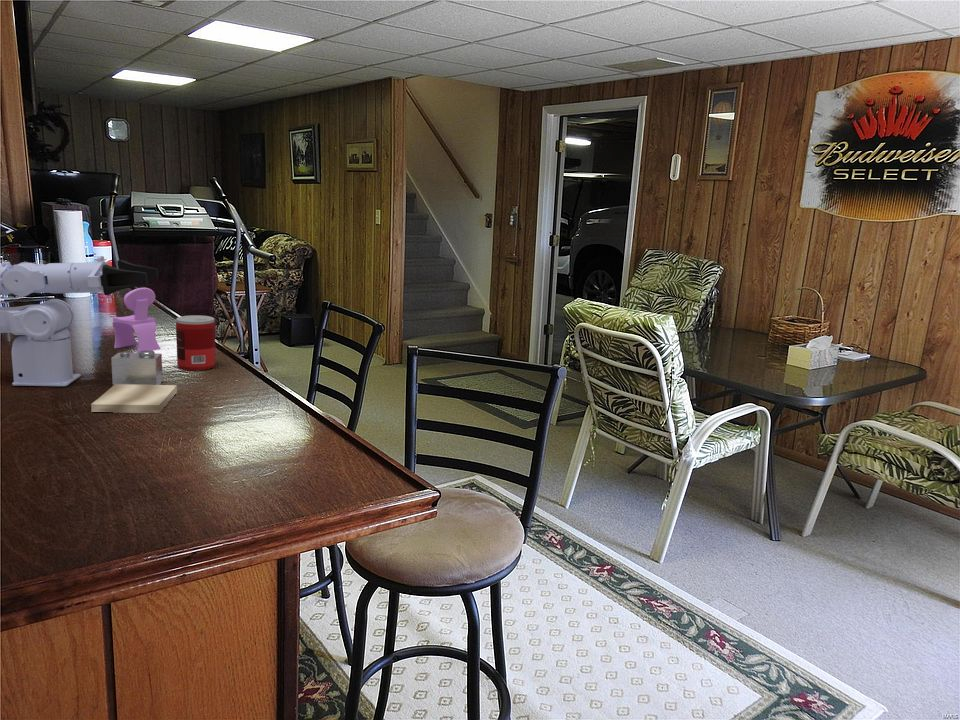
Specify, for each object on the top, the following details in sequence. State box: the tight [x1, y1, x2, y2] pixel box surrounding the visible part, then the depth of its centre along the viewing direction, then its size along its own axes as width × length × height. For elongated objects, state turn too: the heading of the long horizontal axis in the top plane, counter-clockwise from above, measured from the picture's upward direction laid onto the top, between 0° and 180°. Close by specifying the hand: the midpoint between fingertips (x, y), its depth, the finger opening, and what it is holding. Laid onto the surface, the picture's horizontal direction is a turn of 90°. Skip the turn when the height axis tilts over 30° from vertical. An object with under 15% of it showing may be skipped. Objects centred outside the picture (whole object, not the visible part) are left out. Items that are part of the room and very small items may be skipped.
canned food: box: [175, 314, 216, 372], centre depth 153 cm, size 8×8×11 cm
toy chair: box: [112, 287, 161, 353], centre depth 165 cm, size 8×9×15 cm
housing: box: [111, 350, 163, 387], centre depth 137 cm, size 8×4×7 cm, turn 100°
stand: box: [90, 384, 178, 414], centre depth 127 cm, size 11×13×2 cm
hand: (152, 276), depth 135 cm, fingers open, 7 cm apart
